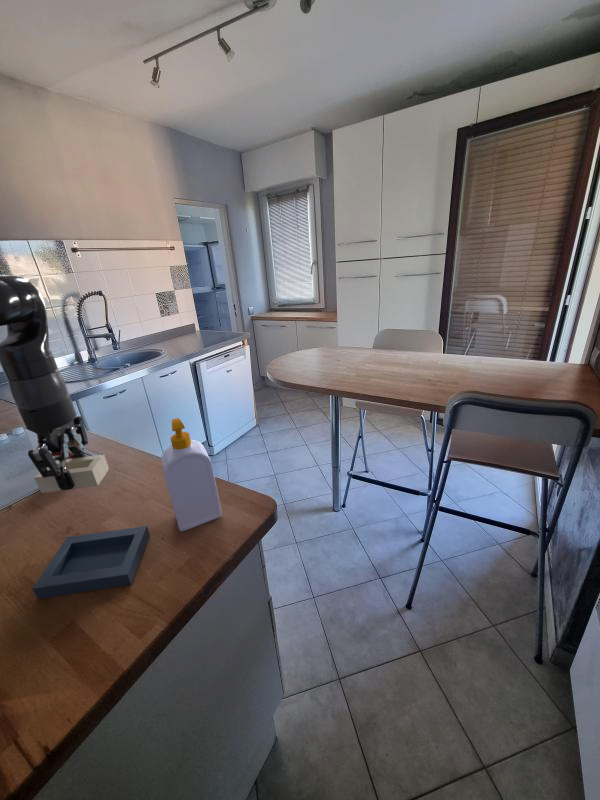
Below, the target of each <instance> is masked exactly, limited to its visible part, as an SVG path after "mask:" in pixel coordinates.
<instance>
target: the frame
mask: <svg viewBox="0 0 600 800" xmlns="http://www.w3.org/2000/svg"><path fill="white" fill-rule="evenodd" d="M66 461H67V470H69V472H70V475H71V477H72V480H73V482H74V485H75V486H74V487H73V488H72V489H71V490H76V489H77V490H78V489H83V488H90V487H97V486H99V485H100V483H101V482H102V480H103V479H104V477H105V476H106V474H107V473H108V472H109V470H110V467H109V465H108V462H107V459H106V456H105V454H98V455H97V454H96V455H88V456H86V457H80V458H72V459H67V460H66ZM55 462H56V463H57V465H58V466H59V467H60V461H58V460H57V461H55ZM47 469H49V468H48V467H47ZM34 480H35V483H36V485H37V487H38V489H39V492H40V494H46V493H54V492H61V491H63V490H61V489H60V488H59V486H58V484H57V482H56V479H55V477H54V476H52V477H45V478H43V477H42V475H41V474H40V472H38V473H37V474H36V475H35V476H34Z"/></svg>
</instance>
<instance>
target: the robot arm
mask: <svg viewBox="0 0 600 800" xmlns="http://www.w3.org/2000/svg"><path fill="white" fill-rule="evenodd" d="M5 326H6V332H7V334H6V335H7V336H6V338H5V339H4V340H2V341H1V342H0V367H1V369H2V371H3V374H4V376H5V378H6V380H7V383H8V387H9V390H10V391H9V392H10V394H11V397H12V399H13V401H14V403H15V406H16V407H17V410H18V412H19V415H20V417H21V420H22V421H23V424H24V426H25V428H26V429H27V430H28V431H30V432H33V433H35V434H36V436H37V443H38V445H37V446H36V447H35V449H30V450H28V452H27V456H28V457H29V459H30V460H31V462H32V463H33V465H34V467H35V468H36V469H37V472H38V473H40V474H41V475H42V477H43V478H45V477H52V476H54V477H55V479H56V482H57V484H58V486H59V488H60V489H61V490H62V491H67V490H68V491H69V490H73V489H72V488H73V487H74V486H75V485H74V482H73V480H72V477H71V475H70V472H69V470H67V461H66V460H67V459H68V458H69V453H70V454H72V453H73V454H72V455H71V458H80V457H87V456H86V454H85V452H86V446H87V445H88V444H89V439H88V434H87V430H86V426H85V423H84V418H83V416H81V415H78V416H77V412H76V408H75V405H74V403H73V400H72V398H71V395H70V392H69V390H68V387H67V384H66V382H65V379H64V377H63V375H62V374H61V372H60V370H59V369H58V365H57V363H56V360H55V357H54V354H53V351H52V350H51V347H50V333H49V332H50V331H49V323H48V311H47V306H46V303H45V300H44V297H43V296H42V294H41V292H40V290H39V289H38V288H37V287H36V286H35V284H33V283H32V282H31V281H30V280H28V279H27V278H25V277H22V276H20V275H14V274H9V275H7V274H6V275H0V327H5ZM85 445H86V446H85ZM68 452H69V453H68ZM52 453H53V454H56V453H61V455H60V456H52ZM57 460H58V461H60V467H59V466H58V465H57V463H56V462H55V461H57ZM47 467H48V468H49V469H47Z"/></svg>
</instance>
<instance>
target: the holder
mask: <svg viewBox="0 0 600 800" xmlns="http://www.w3.org/2000/svg"><path fill="white" fill-rule="evenodd" d="M150 537H151V534H150V530H149V528H148V525H142V526H135V527H128V528H121V529H115V530H107V531H106V530H105V531H98V532H92V533H86V534H85V533H84V534H79V535H72V536H67V537H65V540H64V541H63V542H62V544H61V546H60V547H59V548H58V550H57V551H56V553H55V554H54V556H53V557H52V559H51V560H50V561H49V563H48V564H47V566H46V568H45V569H44V571H43V572H42V574H41V575H40V576H39V578H38V579H37V581H36V582H35V584H34V586H33V587H32V591H33V593H34V594H35V597H36V598H37V599H38V600H40V599H41V600H43V599H48V598H55V597H61V596H67V595H73V594H81V593H86V592H87V593H88V592H93V591H100V590H106V589H112V588H118V587H119V588H120V587H125V586H131V585H132V584H133V581H134V579H135V576H136V573H137V571H138V568H139V565H140V563H141V560H142V557H143V555H144V552H145V550H146V547H147V545H148V542H149V539H150Z"/></svg>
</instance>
